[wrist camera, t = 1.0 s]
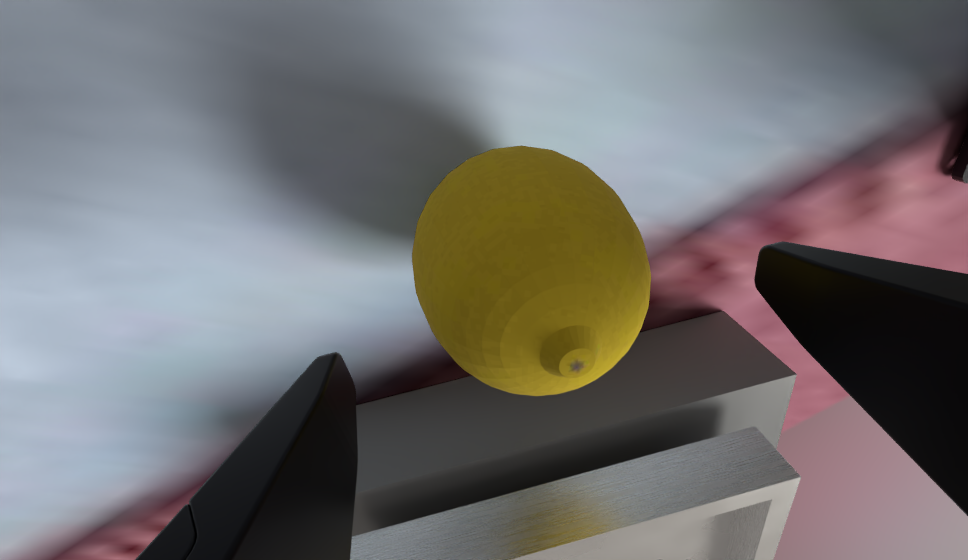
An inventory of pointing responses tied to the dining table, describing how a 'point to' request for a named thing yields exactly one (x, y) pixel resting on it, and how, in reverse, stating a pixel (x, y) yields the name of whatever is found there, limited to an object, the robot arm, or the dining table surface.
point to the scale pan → (619, 512)
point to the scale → (563, 422)
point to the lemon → (530, 271)
